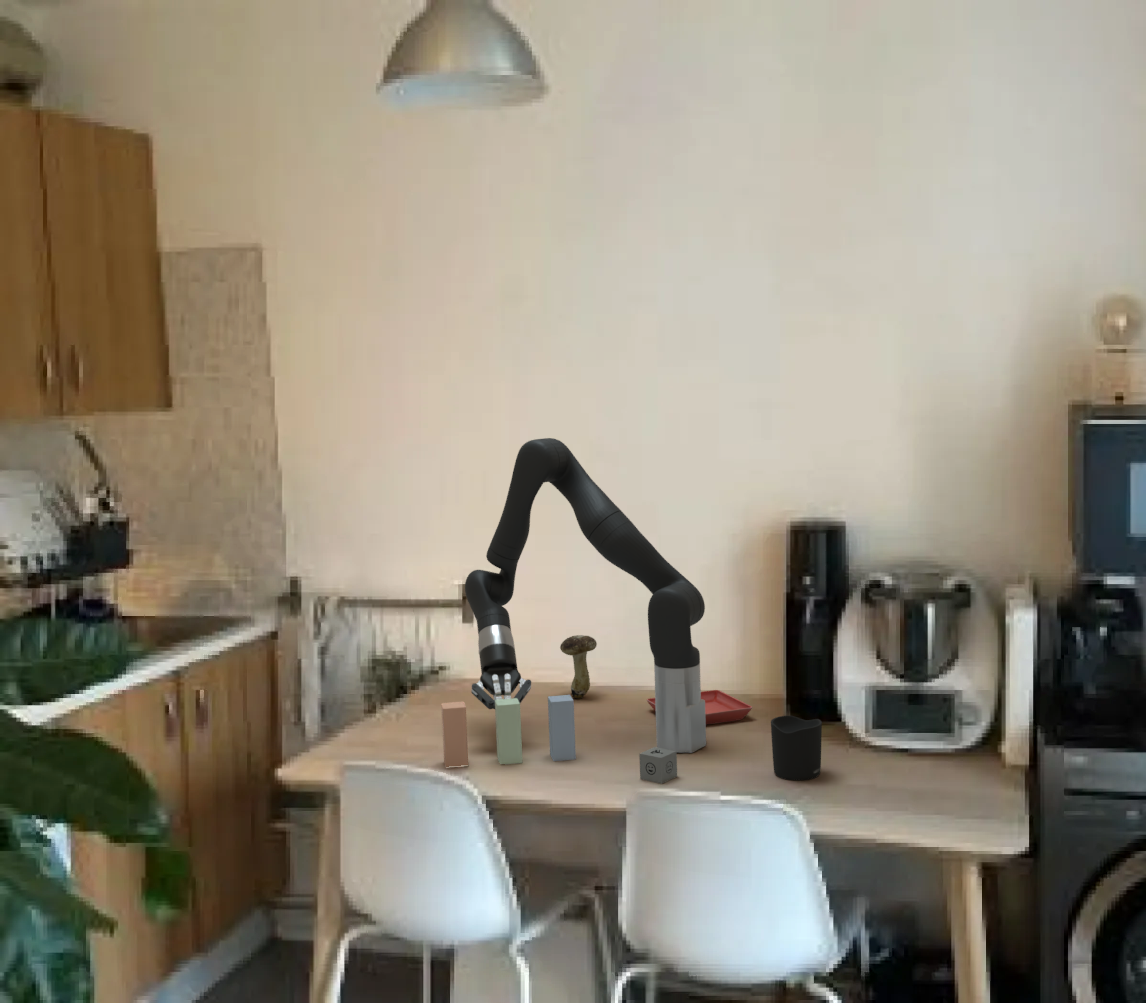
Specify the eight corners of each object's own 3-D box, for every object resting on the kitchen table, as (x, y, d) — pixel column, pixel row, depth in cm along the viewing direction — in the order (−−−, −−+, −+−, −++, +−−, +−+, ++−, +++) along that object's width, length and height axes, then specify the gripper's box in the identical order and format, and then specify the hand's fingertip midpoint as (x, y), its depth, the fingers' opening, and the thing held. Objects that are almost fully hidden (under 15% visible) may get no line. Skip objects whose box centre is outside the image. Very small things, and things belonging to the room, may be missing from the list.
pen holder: (785, 784, 235) (784, 731, 234) (763, 769, 244) (762, 718, 243) (831, 778, 238) (830, 725, 237) (808, 763, 247) (807, 712, 246)
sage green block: (519, 756, 258) (517, 698, 257) (522, 763, 253) (520, 703, 252) (497, 758, 257) (494, 699, 256) (499, 765, 253) (497, 705, 251)
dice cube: (655, 772, 245) (654, 746, 244) (677, 776, 242) (676, 751, 241) (640, 779, 241) (639, 753, 240) (661, 784, 238) (661, 758, 237)
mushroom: (598, 702, 296) (596, 638, 295) (561, 703, 297) (558, 640, 295) (598, 692, 306) (596, 630, 304) (562, 693, 306) (560, 631, 304)
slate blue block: (572, 752, 259) (569, 694, 258) (575, 759, 254) (573, 700, 253) (550, 754, 258) (547, 696, 257) (553, 761, 254) (551, 702, 252)
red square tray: (645, 712, 288) (645, 697, 288) (718, 702, 294) (717, 688, 294) (678, 733, 271) (677, 717, 271) (754, 722, 277) (754, 707, 277)
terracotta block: (466, 759, 257) (463, 701, 255) (468, 766, 252) (465, 707, 251) (444, 761, 256) (441, 703, 255) (445, 768, 252) (442, 709, 250)
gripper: (466, 644, 265) (473, 717, 254) (529, 639, 267) (539, 712, 256) (465, 663, 271) (472, 736, 260) (527, 659, 273) (537, 731, 262)
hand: (506, 724), depth 258 cm, fingers closed
